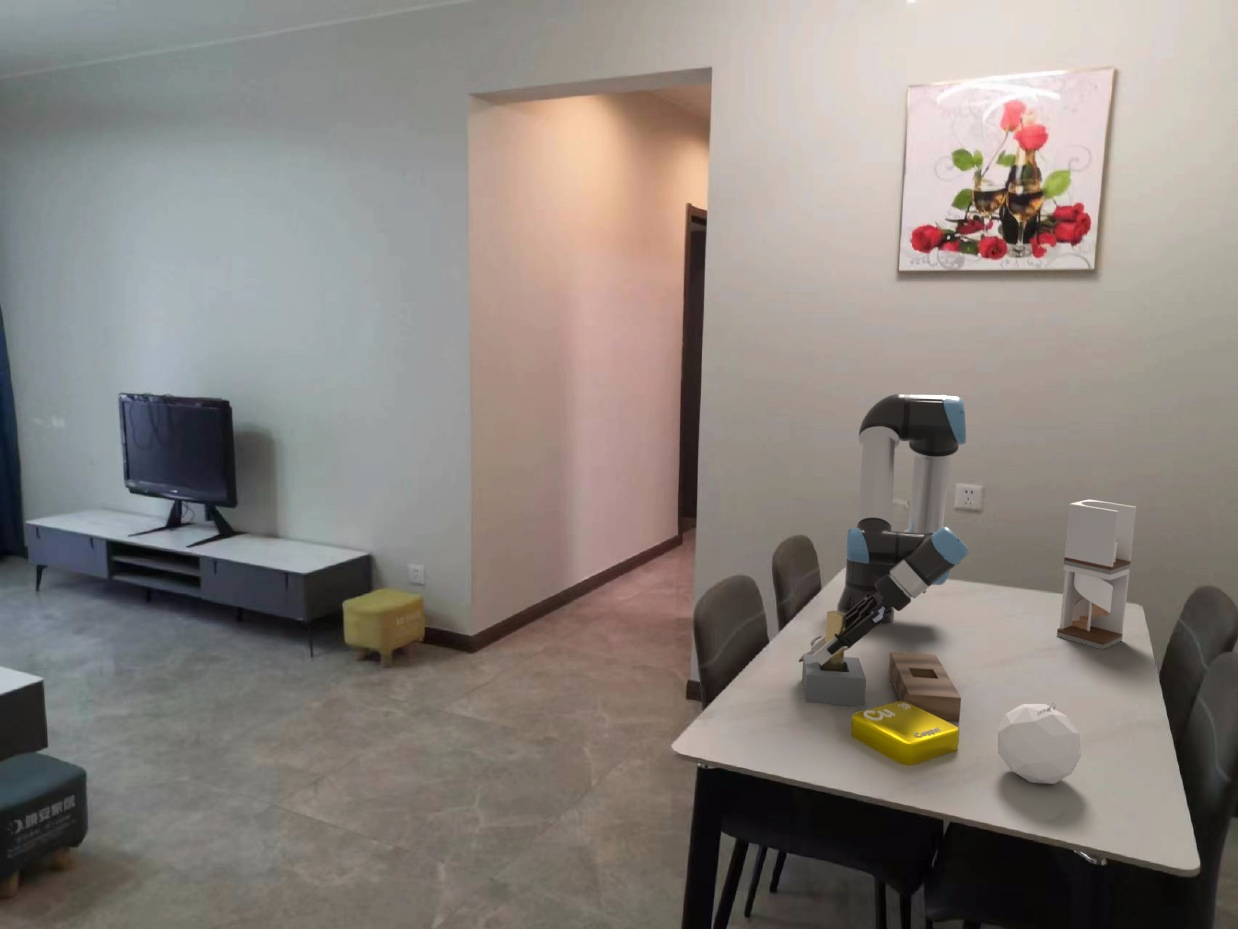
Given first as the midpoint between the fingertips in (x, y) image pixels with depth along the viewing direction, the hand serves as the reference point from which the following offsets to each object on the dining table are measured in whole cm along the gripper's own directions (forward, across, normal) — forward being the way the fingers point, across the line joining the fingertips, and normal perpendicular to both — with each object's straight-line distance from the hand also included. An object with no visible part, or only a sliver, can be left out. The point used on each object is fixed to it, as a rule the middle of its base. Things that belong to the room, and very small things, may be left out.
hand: (816, 656), depth 188 cm
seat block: (+3, 0, -8) cm, 9 cm away
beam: (-10, +2, -22) cm, 24 cm away
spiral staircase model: (-46, +47, -57) cm, 87 cm away
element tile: (-5, -21, -17) cm, 27 cm away
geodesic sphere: (-19, -31, -31) cm, 48 cm away
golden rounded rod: (+2, 0, -7) cm, 7 cm away
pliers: (+3, +25, -10) cm, 27 cm away
